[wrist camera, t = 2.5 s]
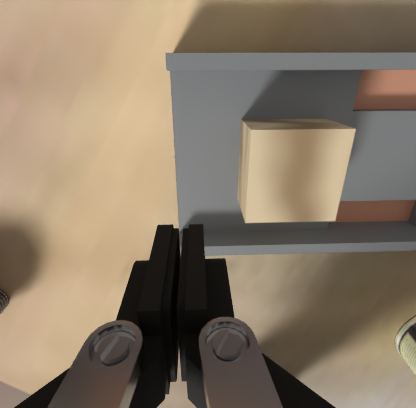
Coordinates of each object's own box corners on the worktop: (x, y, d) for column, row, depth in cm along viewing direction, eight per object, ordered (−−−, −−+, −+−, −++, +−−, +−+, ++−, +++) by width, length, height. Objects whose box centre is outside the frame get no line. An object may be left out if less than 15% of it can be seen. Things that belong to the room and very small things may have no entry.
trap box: (180, 232, 28) (178, 256, 24) (170, 56, 21) (165, 52, 18) (527, 225, 29) (573, 246, 26) (625, 55, 22) (708, 51, 19)
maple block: (237, 198, 25) (245, 222, 21) (241, 119, 22) (251, 129, 18) (312, 197, 25) (334, 221, 21) (327, 118, 22) (356, 128, 18)
